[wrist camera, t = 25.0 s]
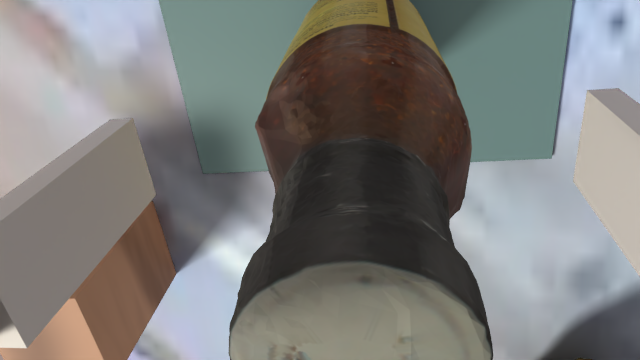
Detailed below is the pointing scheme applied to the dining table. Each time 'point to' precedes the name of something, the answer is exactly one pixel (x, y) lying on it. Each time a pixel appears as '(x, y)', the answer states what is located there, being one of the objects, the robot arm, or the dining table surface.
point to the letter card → (447, 33)
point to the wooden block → (109, 300)
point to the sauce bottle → (362, 198)
